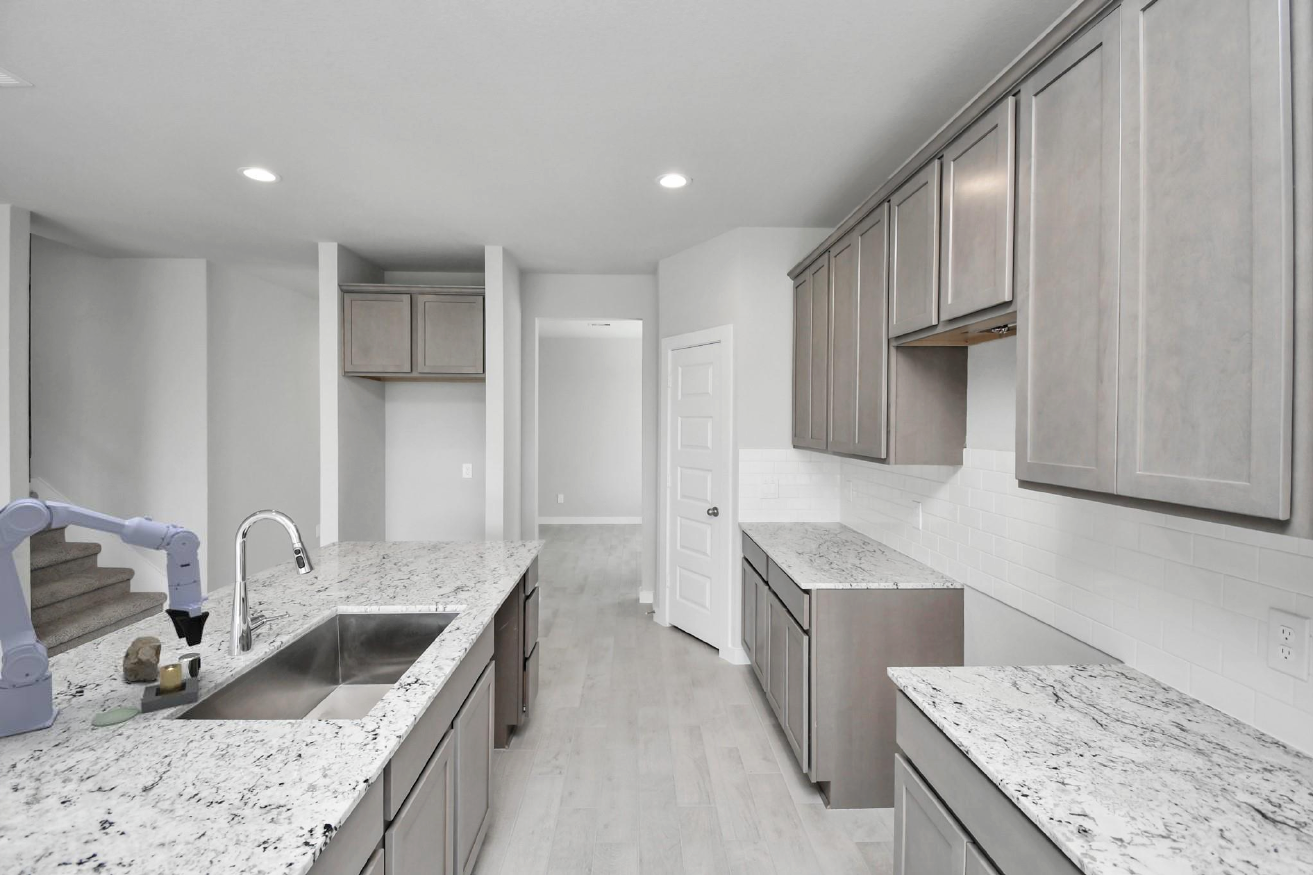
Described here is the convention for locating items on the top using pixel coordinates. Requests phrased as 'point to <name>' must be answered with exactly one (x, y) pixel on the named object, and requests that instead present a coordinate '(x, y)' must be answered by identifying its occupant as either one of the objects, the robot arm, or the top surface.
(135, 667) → the rock
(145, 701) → the housing
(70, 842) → the top surface
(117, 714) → the mat
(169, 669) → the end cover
